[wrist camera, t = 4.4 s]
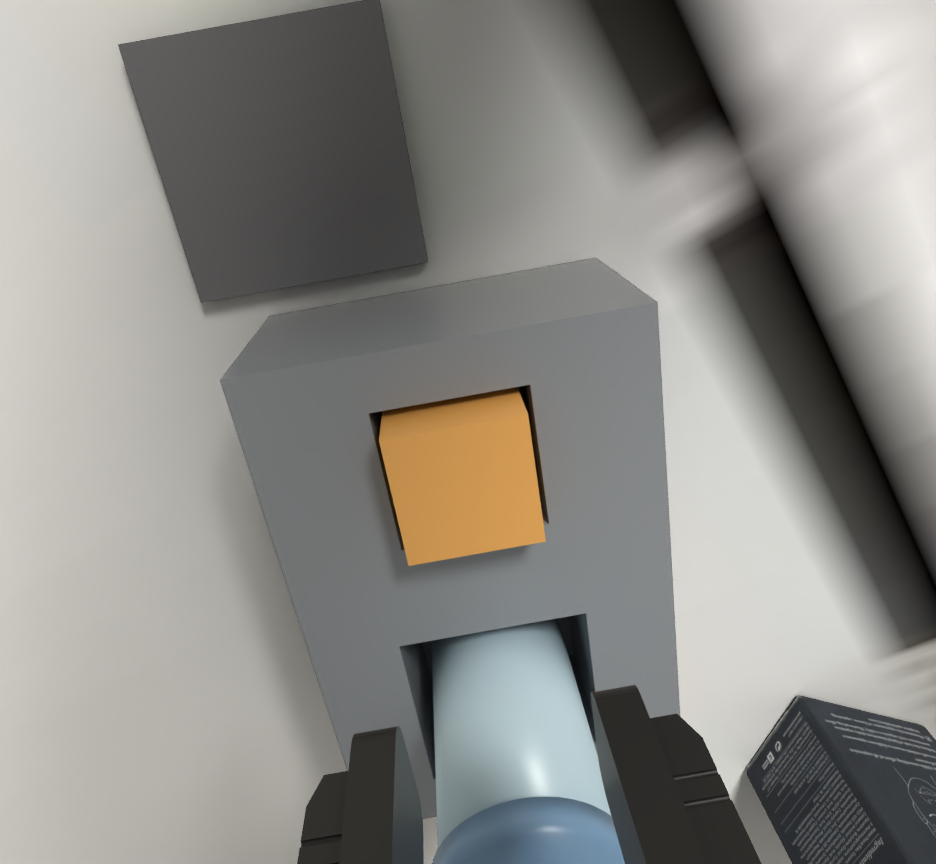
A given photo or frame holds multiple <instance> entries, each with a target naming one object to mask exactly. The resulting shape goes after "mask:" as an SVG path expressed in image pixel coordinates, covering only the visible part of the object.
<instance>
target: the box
mask: <svg viewBox="0 0 936 864" xmlns="http://www.w3.org/2000/svg"><path fill="white" fill-rule="evenodd" d="M747 775H748V777H749V780H750V782H751V783H752V785H753V787H754V789H755V791H756V793H757V795H758V797H759V799H760V801H761V803H762V805H763V807H764V809H765V811H766V813H767V815H768V817H769V819H770V820H771V822H772V824H773V827H774V829H775V831H776V833H777V834H778V836H779V838H780V840H781V842H782V844H783V846H784V848H785V850H786V852H787V854H788V856H789V858H790V860H791V861H792V864H936V740H935V739H934V738H933V736H932V735H931V734H930V733H929V732H928V730H927V729H926V728H925V727H924V726H922V725H919V724H915V723H911V722H906V721H902V720H898V719H894V718H890V717H886V716H882V715H877V714H874V713H869V712H865V711H861V710H857V709H853V708H849V707H845V706H841V705H837V704H833V703H828V702H824V701H820V700H816V699H812V698H808V697H804V696H797V697H796V699H795V700H794V702H793V703H792V705H791V706H790V707H789V709H788V710H787V711H786V712H785V713H784V715H783V717H782V718H781V719H780V721H779V722H778V723H777V724H776V726H775V728H774V729H773V731H772V732H771V734H770V735H769V736H768V738H767V739H766V741H765V742H764V744H763V745H762V747H761V748H760V750H759V751H758V752H757V754H756V755H755V757H754V758H753V759H752V761H751V763H750V764H749V765H748V766H747Z"/></svg>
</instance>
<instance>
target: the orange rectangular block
mask: <svg viewBox="0 0 936 864" xmlns="http://www.w3.org/2000/svg"><path fill="white" fill-rule="evenodd" d="M379 443H380V448H381V452H382V456H383V460H384V464H385V469H386V473H387V477H388V481H389V485H390V490H391V494H392V498H393V502H394V507H395V511H396V515H397V519H398V523H399V528H400V532H401V536H402V540H403V544H404V549H405V553H406V557H407V561H408V565H409V566H412V565H417V564H423V563H428V562H434V561H440V560H445V559H451V558H457V557H462V556H468V555H473V554H479V553H485V552H490V551H496V550H501V549H507V548H513V547H518V546H524V545H530V544H535V543H541V542H546V538H545V531H544V524H543V517H542V510H541V502H540V495H539V488H538V481H537V474H536V467H535V459H534V452H533V445H532V438H531V431H530V424H529V417H528V413H527V410H526V408H525V405H524V402H523V400H522V397H521V395H520V392H519V390H518V387H514V388H509V389H503V390H497V391H492V392H486V393H481V394H475V395H469V396H464V397H458V398H453V399H447V400H441V401H436V402H430V403H425V404H419V405H413V406H408V407H402V408H397V409H391V410H385V411H382V419H381V428H380V436H379Z"/></svg>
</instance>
